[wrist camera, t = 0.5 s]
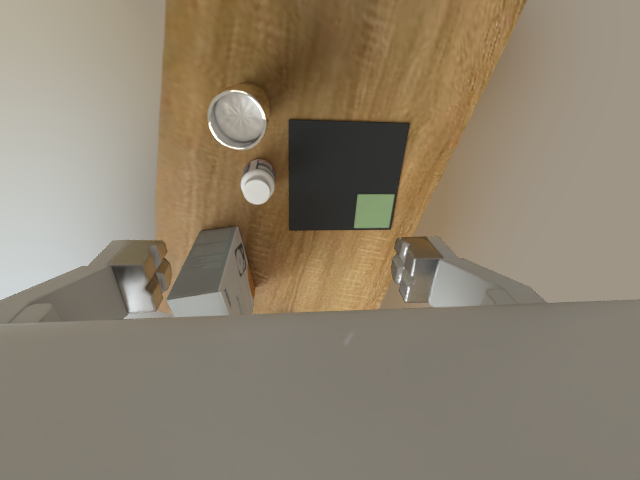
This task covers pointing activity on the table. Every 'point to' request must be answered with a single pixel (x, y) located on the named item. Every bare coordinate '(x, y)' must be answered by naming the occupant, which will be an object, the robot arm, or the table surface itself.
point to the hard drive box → (214, 277)
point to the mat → (344, 174)
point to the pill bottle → (258, 181)
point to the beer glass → (239, 116)
